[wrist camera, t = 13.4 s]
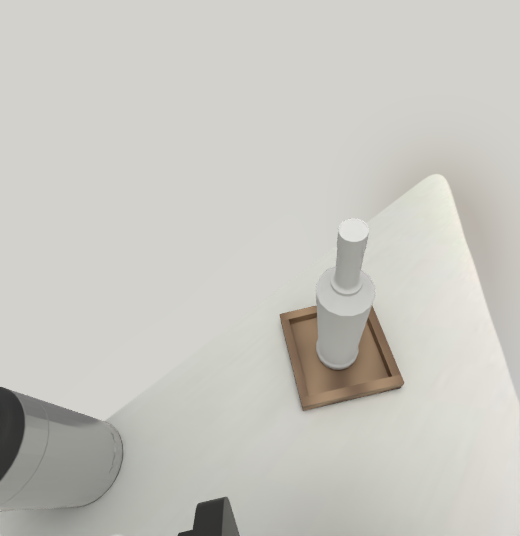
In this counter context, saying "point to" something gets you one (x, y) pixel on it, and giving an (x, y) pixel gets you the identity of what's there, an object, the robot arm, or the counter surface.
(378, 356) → the walnut tray
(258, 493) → the counter surface
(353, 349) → the bottle
